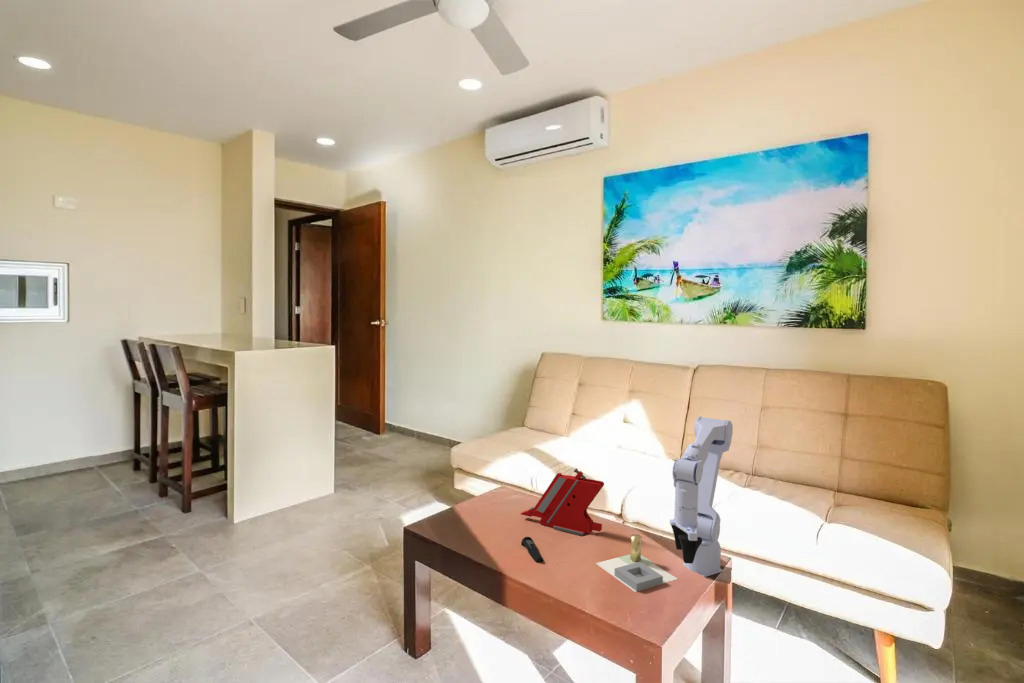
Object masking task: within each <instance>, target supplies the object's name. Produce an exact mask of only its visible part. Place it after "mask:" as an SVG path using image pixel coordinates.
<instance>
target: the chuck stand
mask: <svg viewBox="0 0 1024 683" xmlns="http://www.w3.org/2000/svg"><path fill="white" fill-rule="evenodd" d="M630 554H631V553H629V554H626V555H625V554H624V555H622V556H618V557H615V558H614V557H613V558H611V559H607V560H603V561H599V562H595V564H596V566H598V567H600V568H601V569H603V570H604V571H605V572H607V573H608V574H609V575H611V576H612V577H614V578H615V579H616V580H618V581H619V582H620V583H622V584H623V585H625V586H626V587H628V589H630V590H631V591H633V592H634V593H635V592H640V591H643V590H647V589H650V588H653V587H656V586H659V585H662V584H666V583H669V582H672V581H675V580H678V578H677V577H676V576H674V575H672V574H671V573H669V572H668V571H666V570H664V569H663V568H661V567H659V566H658V565H657V564H655V563H654V562H653V561H652V560H650V559H648V558H647V557H645V556H643V555H642V554H641V561H640V562H633V561H631V560H630Z"/></svg>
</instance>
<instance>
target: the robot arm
mask: <svg viewBox="0 0 1024 683" xmlns="http://www.w3.org/2000/svg"><path fill="white" fill-rule="evenodd" d="M693 427H694V428H693V429H694V430H693V432H694V435H695V440H694V442H692V443H691V442H690V444H688V445H687V447H686V449H685V451H684V453H683V454H682V456H681V458H678V459H675V461H674V463H673V467H672V479H673V487H674V488H675V492H674V493H675V495H674V515H673V516H674V517H673V519H669V525H670V526H671V529H672V532H673V536H674V544H675V548H676V550H680V551H681V552H682V558H683V563H681V565H683V566H685V568H687V570H688V571H689V570H690V571H691V572H694V573H697V574H699V575H701V576H702V577H703V578H706V577H708V576H709V577H710V576H713V575H715V574H719V573H723V569H722V568H721V558H722V557H721V556H722V554H721V553H722V552H721V551H722V549H721V544H720V542H719V541H718V540H719V537H720V532H721V517H720V514H719V513H718V512H717V511H716V509H714V508H713V503H714V498H715V492H716V487H717V481H718V476H719V471H720V465H721V459H722V457H723V453H725V452H727V451H729V450H730V447H731V445H732V439H733V422H732V421H731V420H729V419H728V420H727V419H718V418H712V417H711V418H710V417H703V416H698V417H697V418H696V419H695V422H694V426H693Z"/></svg>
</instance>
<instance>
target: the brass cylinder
mask: <svg viewBox="0 0 1024 683" xmlns="http://www.w3.org/2000/svg"><path fill="white" fill-rule="evenodd" d="M642 541H643V540H642V535H640V534H636V533H635V534H631V536H630V553H629V554H630V560H631V561H633V562H640V561H641V555H642V543H643V542H642Z"/></svg>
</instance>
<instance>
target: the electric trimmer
mask: <svg viewBox="0 0 1024 683" xmlns="http://www.w3.org/2000/svg"><path fill="white" fill-rule="evenodd" d="M521 545H522V546H524V547H525V549H526V550H527V553H528V554H529V556H530V557H531V558H532V560H533V561H534V562H535V563H539V562H541V563H542V562H544V559H543V557H542V555H541V552H540V551H539V550H538V548H537V545H536V544H535V541H534V540H533V539H532V537H530V536H525V537H523V538H522V539H521Z"/></svg>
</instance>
